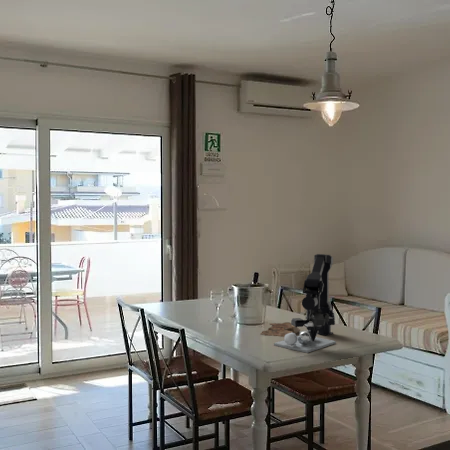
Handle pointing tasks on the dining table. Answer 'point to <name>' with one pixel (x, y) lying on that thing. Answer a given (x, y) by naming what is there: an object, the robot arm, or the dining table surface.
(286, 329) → the fossil
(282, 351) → the dining table surface
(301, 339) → the elbow
